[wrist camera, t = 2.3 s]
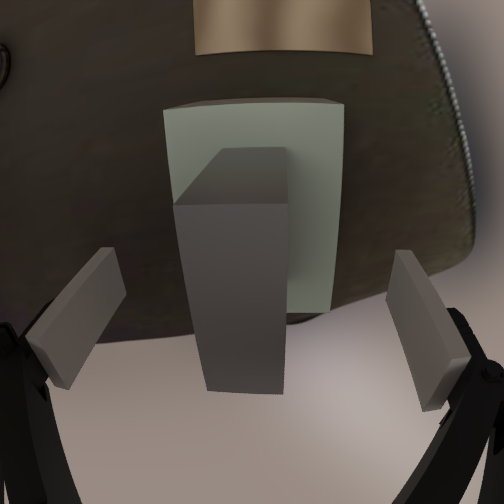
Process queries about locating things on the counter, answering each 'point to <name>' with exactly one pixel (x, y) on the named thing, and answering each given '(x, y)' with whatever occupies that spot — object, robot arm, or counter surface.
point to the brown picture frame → (282, 26)
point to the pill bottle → (3, 64)
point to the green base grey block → (254, 228)
